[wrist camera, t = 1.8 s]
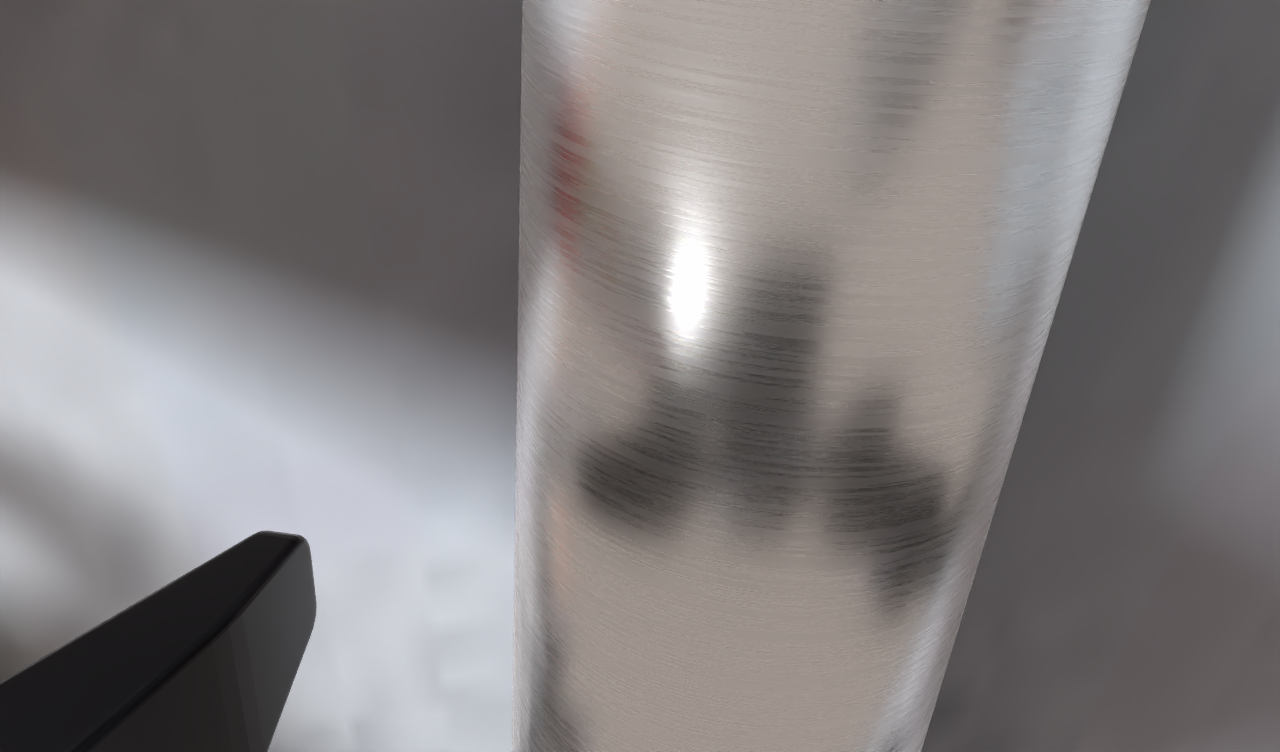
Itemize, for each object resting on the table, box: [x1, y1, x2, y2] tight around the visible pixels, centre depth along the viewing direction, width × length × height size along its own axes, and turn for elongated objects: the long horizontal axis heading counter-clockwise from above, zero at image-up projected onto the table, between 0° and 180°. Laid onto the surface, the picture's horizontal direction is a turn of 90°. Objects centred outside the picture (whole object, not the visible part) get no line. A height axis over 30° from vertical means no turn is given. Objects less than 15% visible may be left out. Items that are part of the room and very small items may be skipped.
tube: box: [512, 0, 1151, 752], centre depth 11 cm, size 16×5×5 cm, turn 176°
